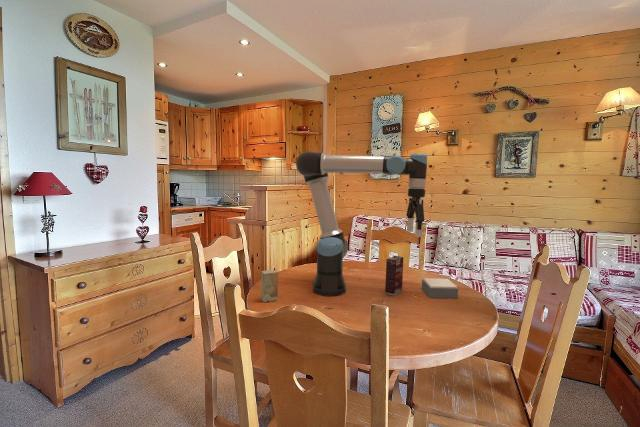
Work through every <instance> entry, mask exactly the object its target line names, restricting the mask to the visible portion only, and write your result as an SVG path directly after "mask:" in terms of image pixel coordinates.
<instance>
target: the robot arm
mask: <svg viewBox="0 0 640 427" xmlns="http://www.w3.org/2000/svg"><path fill="white" fill-rule="evenodd" d="M295 165H296V166H295V167H296V170H297V171H298V173H300V174H301V175H302V176H303V178H304V182H305V184H306V185H308V187H309V189H310V193H311V197H312V201H313V205H314V208H315V212H316V216H317V219H318V223H319V227H320V228H319V229H320V231H321V234H320V236H319V239H318V241H317V244H316V275H315V279H314V281H313V284H312V291H313V293H315V294H317V295H320V296H326V297H328V296H329V297H336V296H340V295H343V294H346V292H347V284H346V282H345V277H344V275H343V259H344V258H345V257H346V255H347V253H348V251H349V244H348V241H347V239H346V238H345V235H344V232H343V230H342V229H340V228H339V224H338V221H337V218H336V213H335V209H334V206H333V202H332V198H331V193H330V189H329V187H328V179H329V174H330V173H334V174H335V173H336V174H340V173H341V174H383V175H389V176H391V175H396V176H397V175H398V176H399V175H401V176H402V175H404V176H405V175H406V176H408V184H407V185H408V186H407V187H408V188H407V196H408V197H409V199H408V205H407V210H406V217H407V221H406V223H407V224H406V232H407V233H409V232H410V233H413V232H414V237H416V238H421V237H422V234H423V233H422V232H423V222H425V212H424V211H425V210H424V199H421V198H424V197H426V189H425V188H426V185H427V183H428V181H427V170H428V169H427V168H428V156H427V154H425V153H411V154H410V156H409V157H408V158H407V157H406V158H403V156H401V155H398V154H397V155H396V154H395V155H349V154H348V155H341V154H340V155H338V154H335V155H332V154H326V153H325V152H315V151H311V150H308V151H303V152H301V153H299V155H298V156H297V158H296V161H295ZM328 173H329V174H328ZM414 215H415V216H414ZM415 218H416V219H415ZM414 219H415V221H414ZM414 222H415V228H414Z"/></svg>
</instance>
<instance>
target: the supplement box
mask: <svg viewBox="0 0 640 427" xmlns="http://www.w3.org/2000/svg"><path fill="white" fill-rule="evenodd" d="M404 258H405V257H404V256H399V255H394V256H391V257H389V258H386V260H385V262H386V264H385V265H386V267H385V289H384V292H385V293H384V294H386V295H388V296H393V297H396V295H398V294H400V293H401V292H403V279H404V278H403V275H404Z"/></svg>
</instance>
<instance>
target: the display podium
mask: <svg viewBox="0 0 640 427" xmlns="http://www.w3.org/2000/svg"><path fill="white" fill-rule="evenodd" d="M422 278H423V277H422ZM421 290H422V291H423V292H424V293H425V295H426V296H427V297H428V298H429V299H458V298H459V288H458V286H457V285H456V284H454V283H453V282H452V281H451V280H450V279H448V278H427V277H425V278H423V279H422V280H421Z"/></svg>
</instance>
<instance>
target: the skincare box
mask: <svg viewBox="0 0 640 427" xmlns="http://www.w3.org/2000/svg"><path fill="white" fill-rule="evenodd" d="M278 287H279V272H278V271H277V269H268V270H261V271H260V300H261V301H262V302H263V303H266V302H267V301H269V302H274V301H273V300H276V301H278V299H279V298H278V295H279V294H278V293H279V292H278V289H279V288H278ZM267 303H268V302H267Z"/></svg>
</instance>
